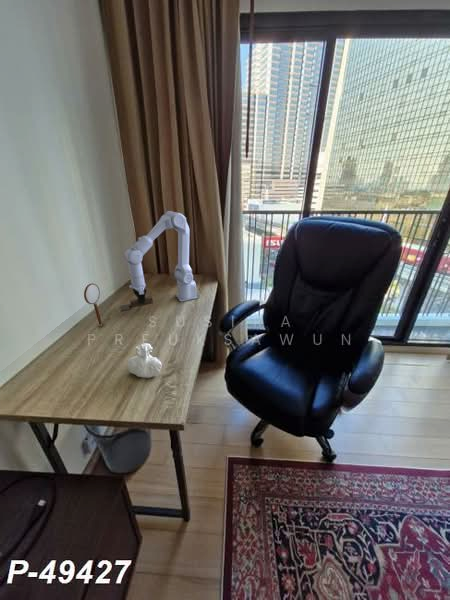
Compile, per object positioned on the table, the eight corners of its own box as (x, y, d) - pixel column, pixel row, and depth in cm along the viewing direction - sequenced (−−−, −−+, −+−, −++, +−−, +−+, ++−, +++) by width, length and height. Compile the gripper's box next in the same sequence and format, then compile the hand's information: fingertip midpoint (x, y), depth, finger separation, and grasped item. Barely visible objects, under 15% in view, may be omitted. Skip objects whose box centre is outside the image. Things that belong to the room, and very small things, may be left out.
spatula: (151, 300, 124) (150, 294, 123) (153, 304, 120) (152, 298, 119) (119, 307, 118) (118, 301, 117) (120, 311, 114) (119, 305, 113)
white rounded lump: (164, 377, 85) (168, 344, 87) (156, 380, 78) (160, 344, 80) (131, 374, 87) (136, 341, 89) (120, 376, 80) (125, 341, 82)
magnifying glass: (96, 331, 107) (84, 288, 97) (93, 331, 107) (80, 288, 98) (108, 320, 114) (98, 280, 105) (105, 320, 115) (94, 280, 105)
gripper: (125, 271, 118) (131, 297, 124) (129, 282, 106) (135, 310, 112) (141, 269, 120) (145, 294, 127) (146, 280, 109) (151, 307, 115)
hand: (141, 302), depth 120 cm, fingers closed on spatula, 2 cm apart
